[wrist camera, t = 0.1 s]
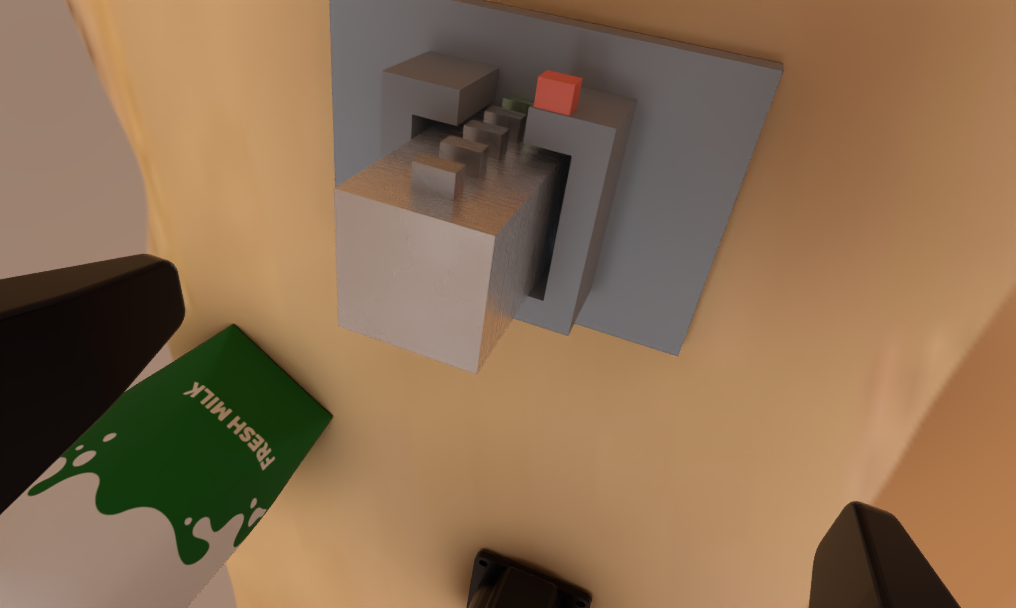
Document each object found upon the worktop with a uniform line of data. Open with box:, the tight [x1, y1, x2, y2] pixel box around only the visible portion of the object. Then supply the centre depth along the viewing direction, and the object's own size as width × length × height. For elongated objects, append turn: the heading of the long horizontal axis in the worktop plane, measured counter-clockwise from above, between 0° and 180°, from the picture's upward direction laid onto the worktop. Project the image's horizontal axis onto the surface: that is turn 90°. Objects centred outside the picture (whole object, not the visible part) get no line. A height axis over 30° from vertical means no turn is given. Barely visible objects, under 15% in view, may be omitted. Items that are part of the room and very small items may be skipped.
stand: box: [330, 0, 783, 356], centre depth 20 cm, size 10×14×4 cm
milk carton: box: [0, 324, 332, 608], centre depth 27 cm, size 9×9×20 cm
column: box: [334, 94, 572, 374], centre depth 18 cm, size 5×4×8 cm
